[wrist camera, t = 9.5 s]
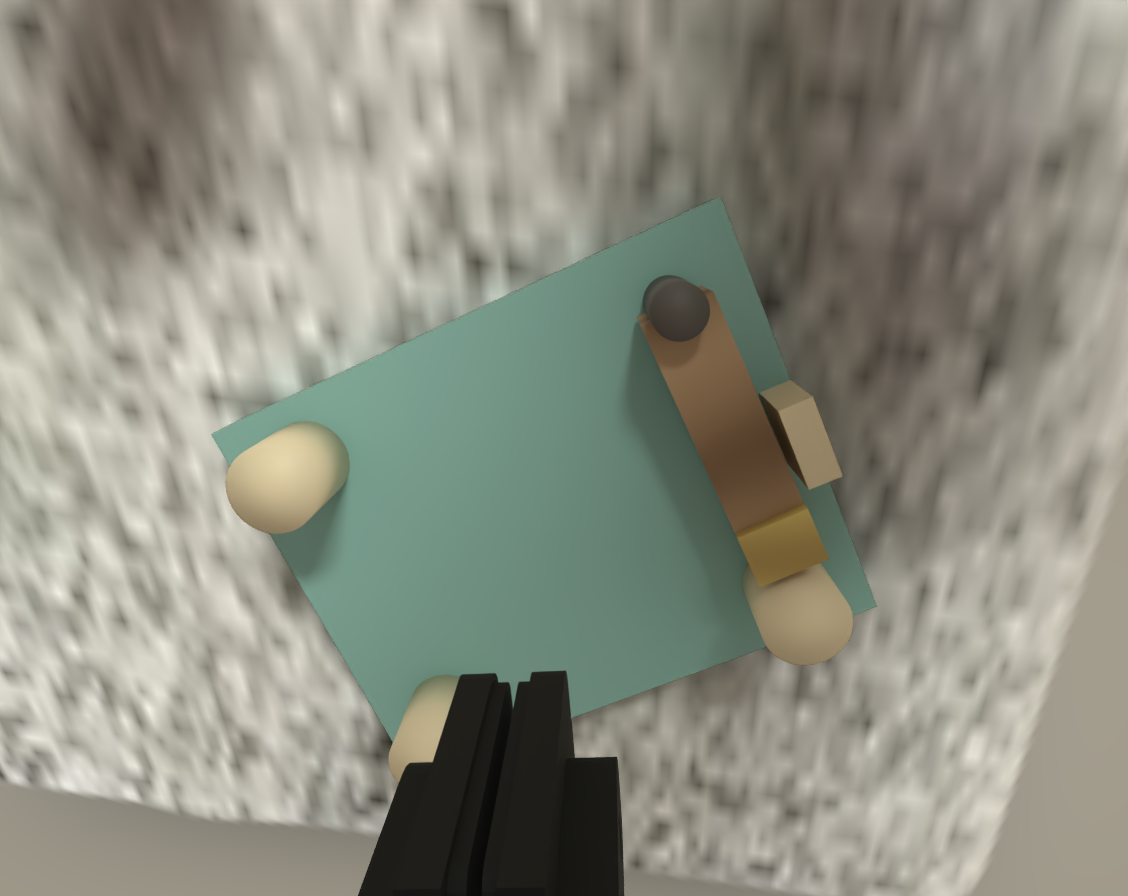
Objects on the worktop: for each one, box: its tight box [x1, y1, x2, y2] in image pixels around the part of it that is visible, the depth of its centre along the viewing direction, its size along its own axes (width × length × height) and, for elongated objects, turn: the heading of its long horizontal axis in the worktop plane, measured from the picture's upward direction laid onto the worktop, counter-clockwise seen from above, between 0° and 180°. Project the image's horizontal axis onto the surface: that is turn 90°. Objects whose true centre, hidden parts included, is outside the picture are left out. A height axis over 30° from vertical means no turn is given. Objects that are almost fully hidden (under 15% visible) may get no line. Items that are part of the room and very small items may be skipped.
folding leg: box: [636, 275, 829, 587], centre depth 26 cm, size 11×2×4 cm, turn 26°
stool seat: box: [211, 197, 877, 783], centre depth 29 cm, size 21×17×6 cm
